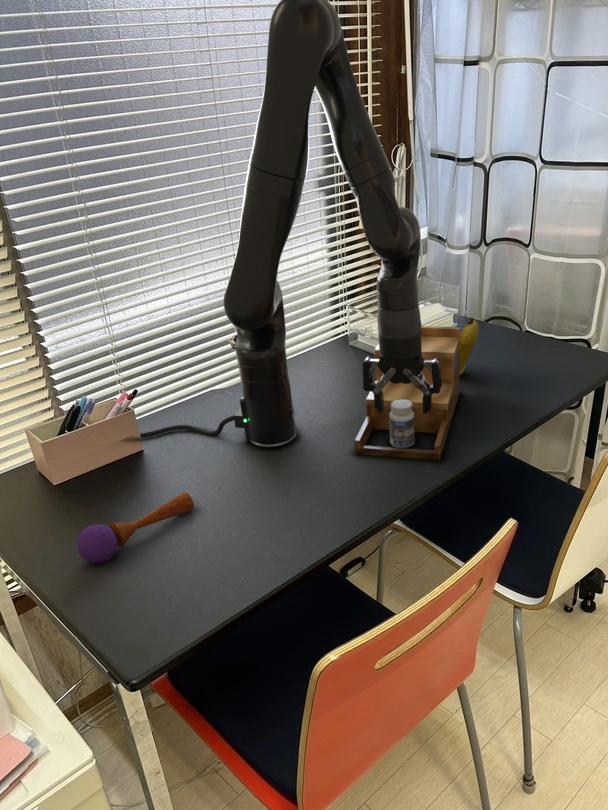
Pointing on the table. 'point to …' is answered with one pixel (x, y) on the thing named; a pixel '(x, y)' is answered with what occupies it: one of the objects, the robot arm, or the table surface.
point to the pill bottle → (402, 424)
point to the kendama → (125, 530)
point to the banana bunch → (467, 342)
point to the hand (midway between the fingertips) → (403, 410)
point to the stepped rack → (419, 397)
